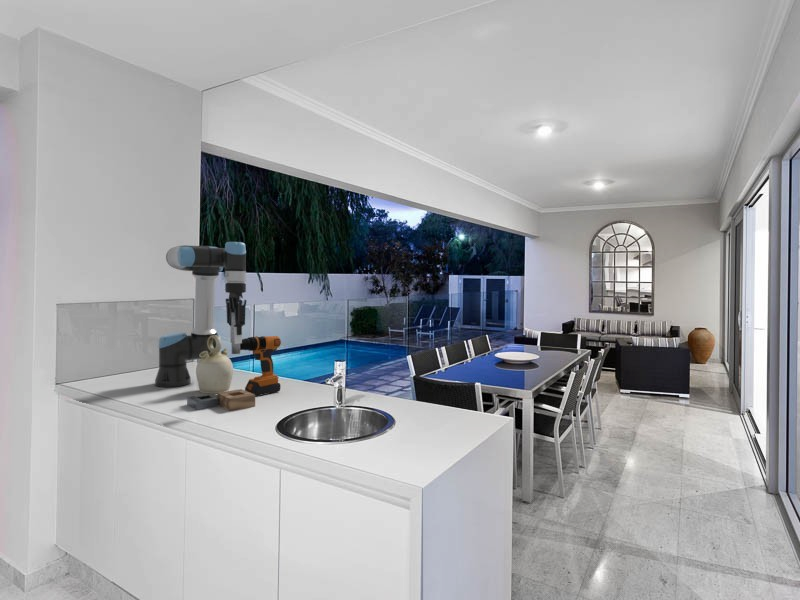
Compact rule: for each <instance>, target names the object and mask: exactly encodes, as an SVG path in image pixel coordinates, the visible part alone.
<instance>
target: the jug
mask: <svg viewBox="0 0 800 600" xmlns="http://www.w3.org/2000/svg"><path fill="white" fill-rule="evenodd" d="M213 338H214V339H215V341H216V349H214V347H213V345H212V341H213ZM207 345H208V348H209V350H210V351H211V352H210V353H209V354H208V351H203V352H201V353H200V355H199V357H201V359H198V362H197V363H196V367H195V375H196V379H197V380H196V381H197V385H198V389H199V392H200V394H210V393H213V394H217V393H220V392H226V391H230V388H231V384H232V380H233V375H234V365H233V363H232V360H231V359H230V358H229V357H228V356H227V355H228V354H229V353H228V348H224V349H223V350H221V349H222V340H220V338H219V337H218V336H217V335H211V336H210V337H209V338H208V341H207ZM219 351H221V352H219Z"/></svg>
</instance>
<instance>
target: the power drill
mask: <svg viewBox="0 0 800 600" xmlns="http://www.w3.org/2000/svg"><path fill="white" fill-rule="evenodd" d="M281 344H282V340H281V338H280V337H279V336H278V335H271V336H267V335H265V336H264V335H263V336H261V335H260V336H257V335H256V336H250V337H246V338H242V343H240V351H250V352H252V354H253V355H254V356H255V358H254V360H255V361H259V362H260V370H261V373H262V374H261V375H259V376H255V377H253V378H250V379H249V380H248V381H247V384H246V386H245V387H244V390H245V391H247V392H250V393H252V394H255V397H259V396H263V395H268V394H274V393H276V392H277V393H278V392H280V391H281V389H282V388H281V383H280V382H279V376H278V375H277V374H274V360H273V358H272V353H273V352H276V351H277V350H278V348H280V347H281Z"/></svg>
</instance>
